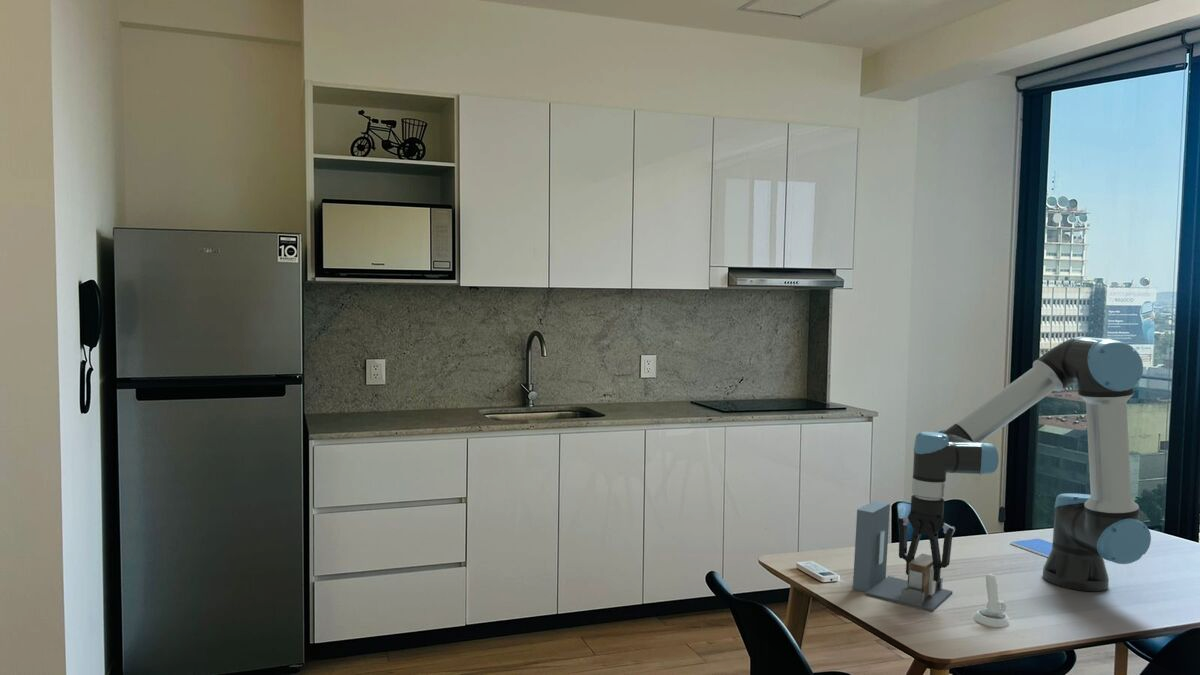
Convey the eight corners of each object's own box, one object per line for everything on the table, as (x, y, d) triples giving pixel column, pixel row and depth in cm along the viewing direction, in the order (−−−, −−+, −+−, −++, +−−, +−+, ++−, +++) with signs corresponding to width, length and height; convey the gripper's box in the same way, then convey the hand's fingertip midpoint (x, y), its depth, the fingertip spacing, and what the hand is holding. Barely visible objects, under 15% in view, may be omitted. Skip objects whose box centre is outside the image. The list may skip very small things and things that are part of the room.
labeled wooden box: (936, 588, 217) (938, 557, 217) (922, 600, 209) (924, 567, 208) (919, 584, 219) (921, 553, 219) (905, 596, 211) (907, 563, 211)
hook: (989, 585, 210) (1010, 577, 204) (997, 636, 203) (1018, 629, 197) (962, 579, 208) (982, 571, 202) (969, 631, 201) (990, 624, 196)
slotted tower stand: (952, 593, 218) (957, 514, 216) (932, 611, 205) (937, 527, 204) (873, 574, 230) (877, 499, 228) (849, 590, 217) (854, 511, 216)
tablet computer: (1096, 561, 249) (1097, 557, 249) (1065, 566, 244) (1065, 561, 244) (1038, 542, 267) (1038, 537, 267) (1008, 545, 262) (1008, 541, 262)
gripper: (969, 500, 210) (962, 595, 212) (897, 487, 221) (892, 578, 222) (960, 505, 205) (953, 604, 206) (887, 492, 215) (881, 586, 216)
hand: (921, 590), depth 214 cm, fingers closed on labeled wooden box, 4 cm apart
